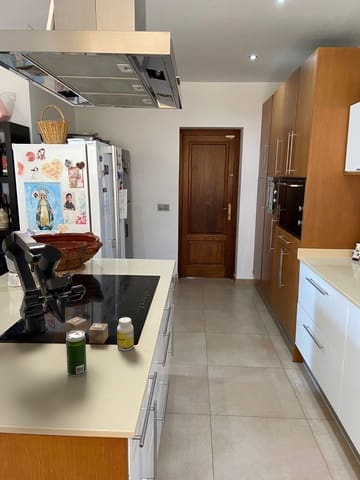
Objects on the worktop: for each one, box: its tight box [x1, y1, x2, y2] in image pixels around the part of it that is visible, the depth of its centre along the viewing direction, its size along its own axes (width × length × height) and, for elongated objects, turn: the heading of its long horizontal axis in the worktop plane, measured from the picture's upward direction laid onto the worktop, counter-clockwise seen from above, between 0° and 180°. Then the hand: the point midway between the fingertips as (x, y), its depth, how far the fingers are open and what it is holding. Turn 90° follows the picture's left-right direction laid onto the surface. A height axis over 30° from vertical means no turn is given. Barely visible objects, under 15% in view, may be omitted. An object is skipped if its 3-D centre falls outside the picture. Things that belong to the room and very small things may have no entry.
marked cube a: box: [88, 322, 109, 345], centre depth 117 cm, size 5×5×5 cm
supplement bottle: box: [116, 316, 135, 351], centre depth 112 cm, size 5×5×10 cm
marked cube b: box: [65, 316, 88, 334], centre depth 122 cm, size 5×5×5 cm
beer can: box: [65, 330, 88, 378], centre depth 98 cm, size 5×5×12 cm
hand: (63, 322), depth 102 cm, fingers closed
